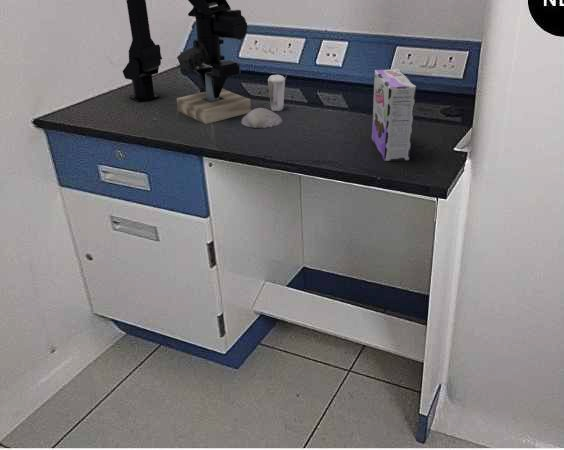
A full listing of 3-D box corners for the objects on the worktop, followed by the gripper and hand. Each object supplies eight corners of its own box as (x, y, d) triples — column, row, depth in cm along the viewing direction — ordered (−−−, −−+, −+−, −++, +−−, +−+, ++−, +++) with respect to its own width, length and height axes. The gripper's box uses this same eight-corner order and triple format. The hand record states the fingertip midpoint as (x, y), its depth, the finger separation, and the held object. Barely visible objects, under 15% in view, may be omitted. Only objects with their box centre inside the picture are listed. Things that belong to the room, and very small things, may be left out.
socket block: (177, 111, 168) (176, 98, 166) (221, 100, 176) (220, 88, 174) (206, 124, 158) (204, 110, 157) (250, 112, 166) (250, 99, 164)
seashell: (233, 116, 154) (247, 96, 161) (237, 135, 158) (250, 115, 165) (273, 119, 151) (285, 98, 158) (275, 138, 155) (287, 117, 162)
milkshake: (286, 112, 165) (286, 74, 160) (267, 111, 166) (265, 74, 161) (290, 107, 169) (289, 70, 164) (270, 106, 170) (269, 69, 165)
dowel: (205, 107, 167) (202, 73, 162) (215, 104, 168) (212, 71, 164) (211, 110, 164) (209, 76, 160) (221, 107, 166) (219, 73, 162)
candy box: (370, 139, 147) (373, 69, 139) (395, 137, 147) (399, 67, 139) (383, 161, 135) (388, 86, 127) (410, 160, 135) (416, 85, 127)
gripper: (161, 34, 160) (168, 94, 167) (200, 47, 147) (206, 111, 154) (198, 28, 166) (203, 86, 173) (239, 39, 153) (243, 102, 160)
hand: (212, 96), depth 165 cm, fingers closed on dowel, 3 cm apart
